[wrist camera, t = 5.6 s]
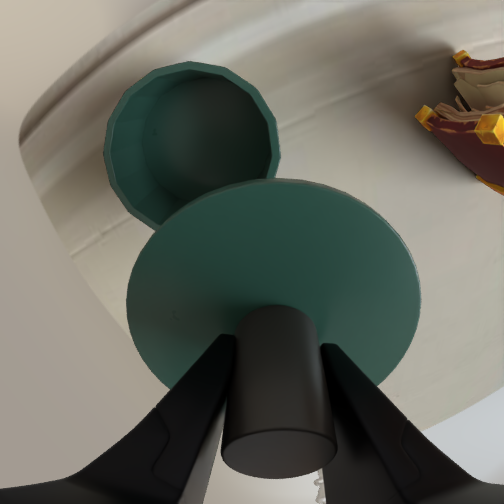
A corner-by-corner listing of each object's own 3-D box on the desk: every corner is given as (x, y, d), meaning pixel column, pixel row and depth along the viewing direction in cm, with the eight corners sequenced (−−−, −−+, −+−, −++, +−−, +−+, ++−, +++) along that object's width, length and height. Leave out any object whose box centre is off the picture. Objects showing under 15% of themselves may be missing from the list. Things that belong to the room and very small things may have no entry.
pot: (117, 159, 19) (79, 177, 14) (190, 48, 16) (166, 31, 11) (221, 231, 21) (209, 268, 16) (304, 127, 18) (317, 134, 13)
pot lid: (101, 328, 11) (40, 435, 6) (242, 104, 7) (210, 96, 3) (289, 425, 13) (294, 527, 8) (453, 287, 10) (531, 390, 5)
